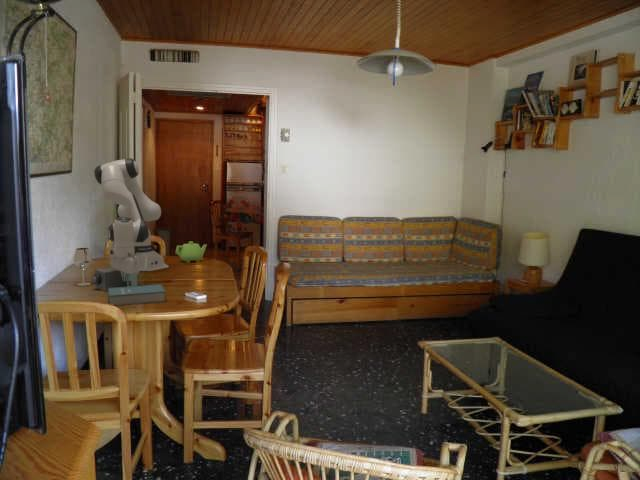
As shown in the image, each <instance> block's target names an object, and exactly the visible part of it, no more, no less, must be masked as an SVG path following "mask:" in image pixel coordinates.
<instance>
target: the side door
mask: <svg viewBox="0 0 640 480" xmlns="http://www.w3.org/2000/svg"><path fill="white" fill-rule="evenodd" d="M131 286H139V285H138V274H136V275H131V274H129V275H128V276H127V287H131Z"/></svg>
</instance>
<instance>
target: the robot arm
mask: <svg viewBox="0 0 640 480" xmlns="http://www.w3.org/2000/svg"><path fill="white" fill-rule="evenodd" d="M139 170H140V169H139V165H138V163H137V161H136V160H135V159H133V158H130V157H129V158H124V159H123V158H122V159H118V160H114V161H110V162H107V163H104V164H100V165H97V166H96V167H95V168H94V178H95V180H96V181H97V183H98V184H99V185H101V189H102V194H103V196H104V199H106V200H107V201H108V202H110V203H112V204H115V205H119V206H118V207H117V214H118V216H119V217H116V218H115V219H114V222H113V223H111V224H109V226H108V227H107V231H108V232H107V237H108V238H107V239H108V240H109V241H111V242H112V243H114V245H113V248H112V249H109V255H110V257H109V259H110V262H109V263H110V268H112V269H114V270H118V271H121V275H122V278H123V281H127V276H128V275H129V274H131V275H136V274H137V275H138V274H139V273H140V272H154V271H157V270H163V269H168V268H169V265H168V264H166V263H165V260H164V257H163V256H162V255H161V254H160V253H158V252H156V251H155V250H156V249H157V248H158V246H157V245H155V244H152V243H151V242H152V240H151V239H152V238H151V237H152V236H151V231H150V230H149V228H148V227H149V226H148V225H147V223H146V222H154V221H157V220H159V219H160V217H161V216H162V209H161V206H160V205H159V203H156V202H155V201H153V200H152V199H150V198H149V197H148V196H147V194H145V193H144V192H143V190H142V188H141V186H140V183H139V182H138V179H137V176H138V175H139V172H140V171H139ZM154 249H155V250H154Z"/></svg>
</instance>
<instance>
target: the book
mask: <svg viewBox="0 0 640 480" xmlns="http://www.w3.org/2000/svg"><path fill="white" fill-rule="evenodd" d="M107 292H108V293H107V294H108V303H109V301H110V303H109V304H113V305H117V306H127V305H128V306H129V305H137V304H138V305H139V304H151V303H163V302H166V299H165V294H166V291H165V289H164V286H163V285H162V284H160V283H159V284H145V285H138V286H131V287H117V288H108V291H107ZM109 304H108V305H109Z"/></svg>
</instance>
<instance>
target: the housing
mask: <svg viewBox="0 0 640 480" xmlns="http://www.w3.org/2000/svg"><path fill="white" fill-rule="evenodd" d="M92 281H93V285H94V286H95V289H96V290H101V291H102V292H103V291H104V292H108V288H117V287H127V281H123V278H122V275H121V271H118V270H114V269H112V267H106V268H98V269H94V273H93V274H92Z"/></svg>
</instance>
